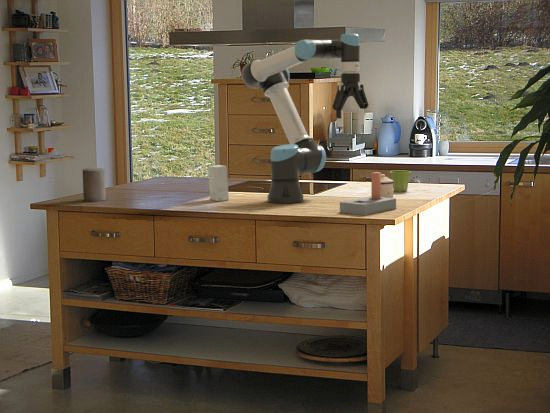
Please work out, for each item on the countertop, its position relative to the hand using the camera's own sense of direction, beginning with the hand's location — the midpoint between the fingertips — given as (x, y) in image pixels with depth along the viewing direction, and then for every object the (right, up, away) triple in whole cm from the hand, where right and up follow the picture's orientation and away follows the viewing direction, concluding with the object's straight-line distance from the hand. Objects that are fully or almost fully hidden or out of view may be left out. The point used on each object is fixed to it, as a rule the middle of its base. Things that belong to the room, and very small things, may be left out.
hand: (350, 125), depth 385 cm
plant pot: (+25, -26, +39) cm, 53 cm away
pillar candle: (-110, -30, +30) cm, 117 cm away
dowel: (+9, -33, -13) cm, 37 cm away
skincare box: (-55, -30, +22) cm, 66 cm away
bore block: (+5, -34, -16) cm, 38 cm away
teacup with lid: (+13, -32, +3) cm, 34 cm away
